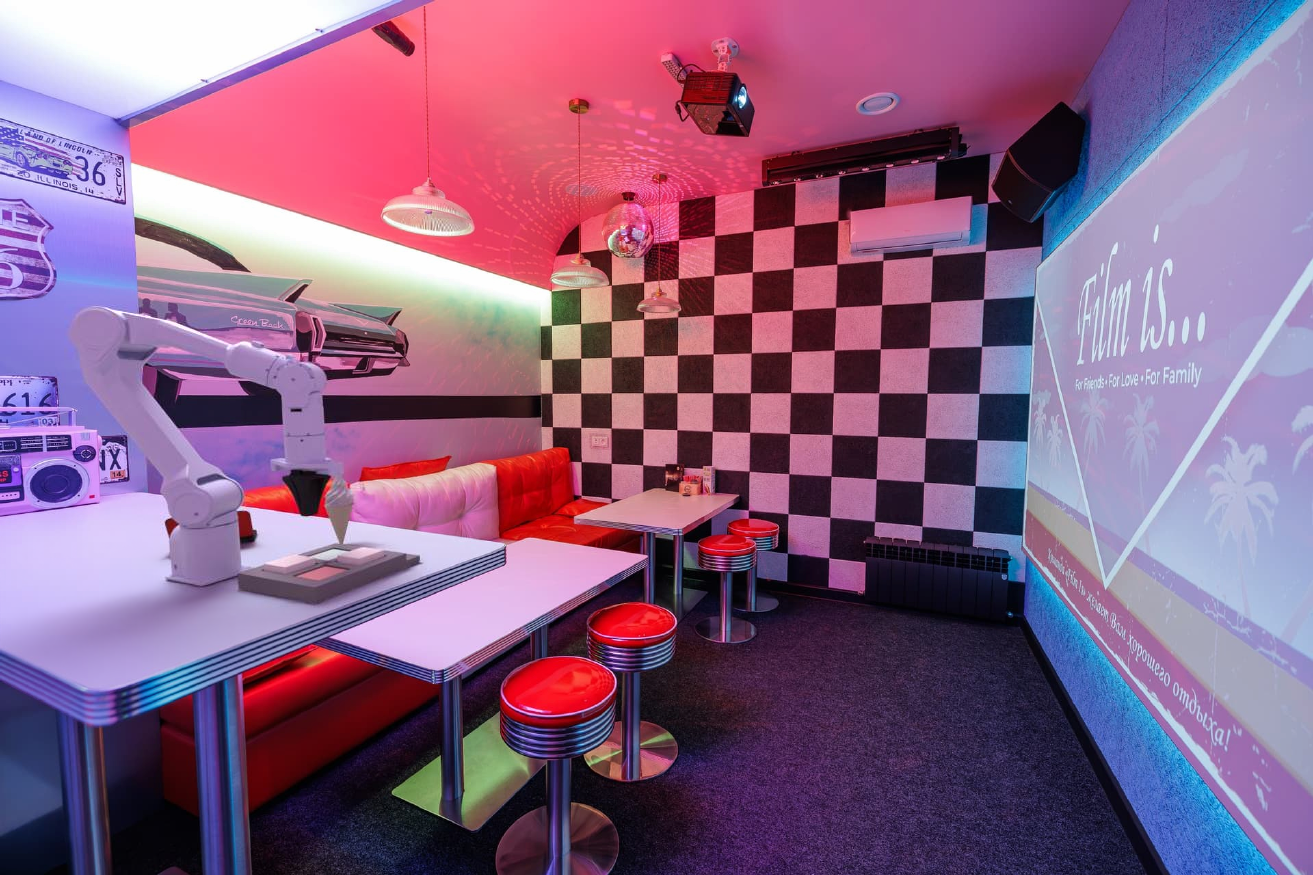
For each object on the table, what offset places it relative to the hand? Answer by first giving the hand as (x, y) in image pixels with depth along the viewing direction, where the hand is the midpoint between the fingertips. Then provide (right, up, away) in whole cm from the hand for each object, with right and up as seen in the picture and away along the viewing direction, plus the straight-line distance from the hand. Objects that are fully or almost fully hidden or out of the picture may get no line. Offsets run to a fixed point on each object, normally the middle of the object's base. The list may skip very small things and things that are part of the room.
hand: (309, 515), depth 90 cm
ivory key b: (+9, -7, -1) cm, 12 cm away
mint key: (+3, -8, +1) cm, 9 cm away
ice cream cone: (-3, -8, +15) cm, 17 cm away
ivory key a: (0, -8, -5) cm, 9 cm away
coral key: (+7, -9, -8) cm, 14 cm away
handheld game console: (-28, -8, +15) cm, 33 cm away
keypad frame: (+5, -10, -2) cm, 11 cm away
